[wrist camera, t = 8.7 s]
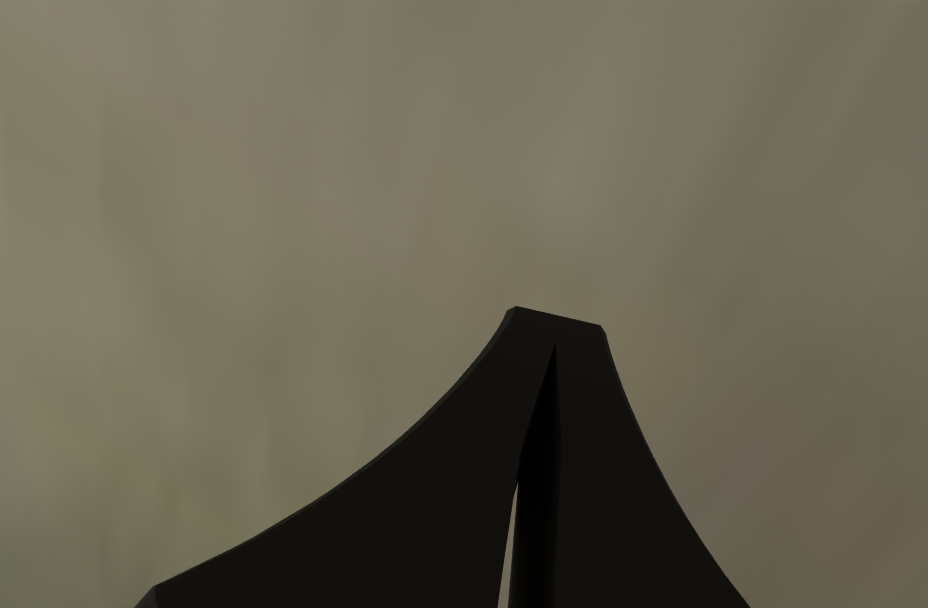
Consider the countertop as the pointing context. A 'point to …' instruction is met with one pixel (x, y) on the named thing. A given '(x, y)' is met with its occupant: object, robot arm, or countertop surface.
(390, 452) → the robot arm
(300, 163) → the countertop surface
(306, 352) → the countertop surface
